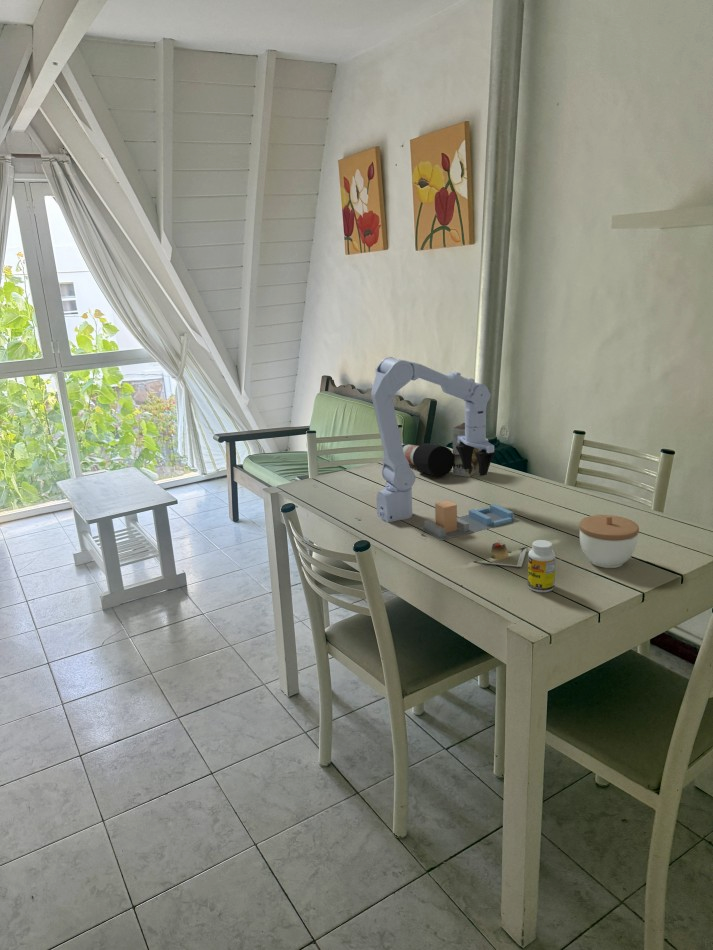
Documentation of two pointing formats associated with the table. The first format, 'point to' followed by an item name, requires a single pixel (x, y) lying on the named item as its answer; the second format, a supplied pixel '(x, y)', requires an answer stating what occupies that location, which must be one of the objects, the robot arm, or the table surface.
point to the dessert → (504, 554)
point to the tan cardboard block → (446, 515)
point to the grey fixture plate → (472, 522)
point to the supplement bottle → (541, 566)
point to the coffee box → (458, 464)
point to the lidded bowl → (608, 539)
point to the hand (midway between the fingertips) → (475, 471)
